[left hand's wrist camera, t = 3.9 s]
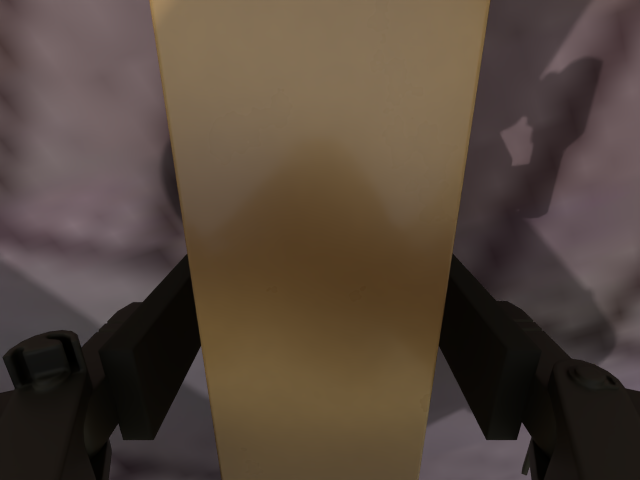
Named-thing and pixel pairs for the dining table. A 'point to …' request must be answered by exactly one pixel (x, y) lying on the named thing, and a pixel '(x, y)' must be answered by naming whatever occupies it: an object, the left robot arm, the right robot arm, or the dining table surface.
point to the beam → (319, 218)
